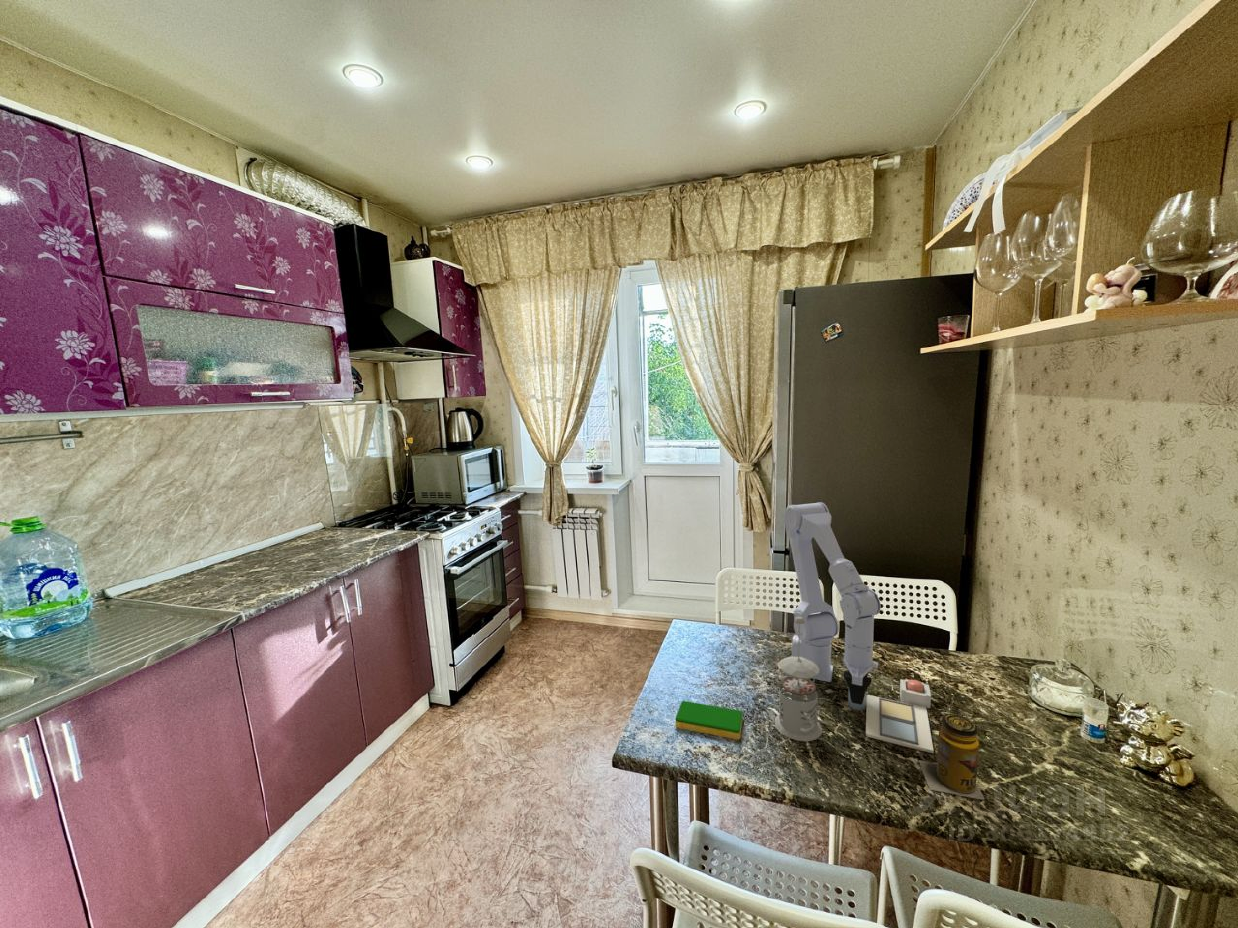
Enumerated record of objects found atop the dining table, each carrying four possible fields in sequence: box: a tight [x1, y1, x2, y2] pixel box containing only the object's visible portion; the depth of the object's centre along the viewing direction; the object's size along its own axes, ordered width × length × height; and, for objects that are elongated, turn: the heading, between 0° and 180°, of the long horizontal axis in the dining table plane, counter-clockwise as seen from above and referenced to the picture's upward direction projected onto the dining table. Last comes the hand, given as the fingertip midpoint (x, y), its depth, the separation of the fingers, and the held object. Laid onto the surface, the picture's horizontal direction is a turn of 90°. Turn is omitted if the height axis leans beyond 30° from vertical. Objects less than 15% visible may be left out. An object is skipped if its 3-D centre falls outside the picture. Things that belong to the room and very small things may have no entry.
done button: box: [908, 679, 923, 693], centre depth 114 cm, size 3×3×3 cm
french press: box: [774, 617, 823, 742], centre depth 105 cm, size 10×12×25 cm
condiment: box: [918, 713, 985, 800], centre depth 89 cm, size 7×8×12 cm
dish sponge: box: [675, 700, 744, 740], centre depth 108 cm, size 7×14×2 cm, turn 71°
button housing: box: [899, 678, 932, 709], centre depth 114 cm, size 6×6×3 cm
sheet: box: [865, 694, 935, 754], centre depth 106 cm, size 12×15×1 cm
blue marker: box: [847, 691, 867, 711], centre depth 112 cm, size 4×4×7 cm
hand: (857, 697), depth 112 cm, fingers closed on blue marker, 4 cm apart
